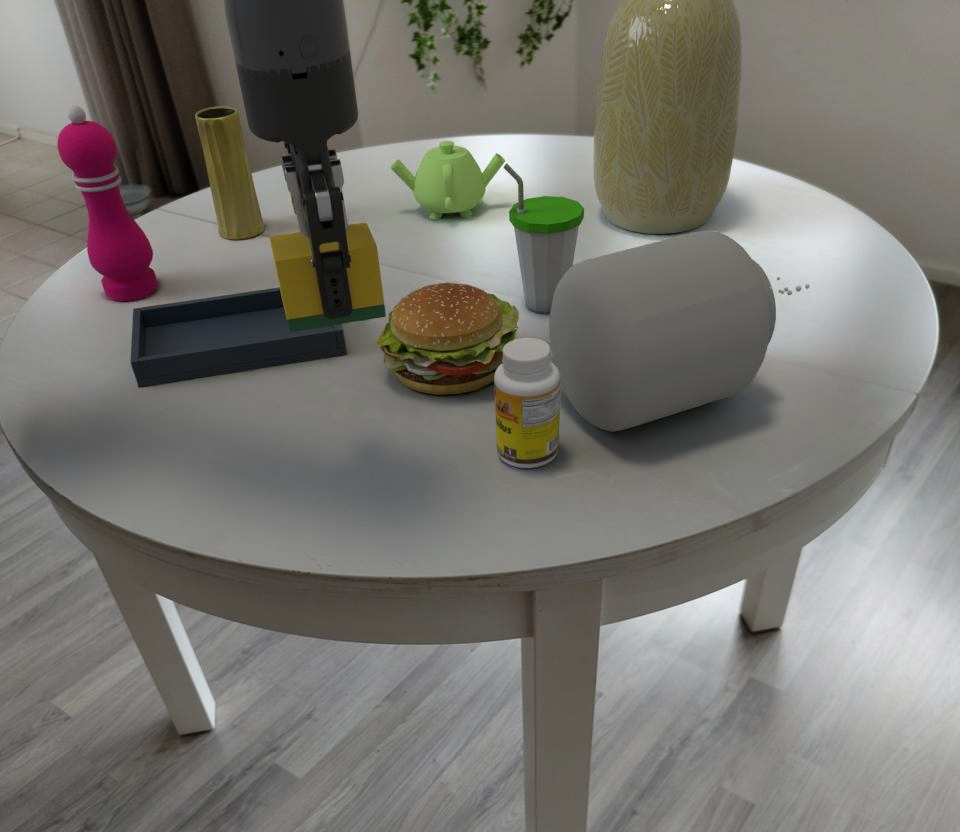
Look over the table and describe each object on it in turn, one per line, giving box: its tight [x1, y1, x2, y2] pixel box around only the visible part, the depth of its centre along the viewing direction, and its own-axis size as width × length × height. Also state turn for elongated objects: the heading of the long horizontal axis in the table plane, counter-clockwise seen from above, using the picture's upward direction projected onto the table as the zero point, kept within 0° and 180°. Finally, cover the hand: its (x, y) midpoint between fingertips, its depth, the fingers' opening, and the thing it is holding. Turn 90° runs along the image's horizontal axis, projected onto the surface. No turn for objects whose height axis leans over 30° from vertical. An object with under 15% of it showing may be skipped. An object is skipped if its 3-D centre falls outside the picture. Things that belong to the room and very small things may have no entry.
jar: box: [548, 230, 811, 432], centre depth 85 cm, size 19×15×25 cm
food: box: [375, 282, 520, 396], centre depth 93 cm, size 14×14×8 cm
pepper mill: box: [56, 105, 159, 302], centre depth 106 cm, size 7×7×20 cm
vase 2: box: [593, 0, 743, 235], centre depth 112 cm, size 17×17×27 cm
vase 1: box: [194, 105, 266, 240], centre depth 119 cm, size 6×6×14 cm
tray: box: [130, 286, 348, 388], centre depth 101 cm, size 22×13×3 cm, turn 104°
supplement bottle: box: [493, 337, 561, 469], centre depth 81 cm, size 6×6×10 cm
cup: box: [503, 162, 585, 315], centre depth 100 cm, size 8×8×15 cm
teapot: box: [390, 140, 506, 220], centre depth 123 cm, size 11×12×8 cm
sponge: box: [269, 222, 387, 332], centre depth 72 cm, size 8×5×6 cm, turn 104°
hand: (333, 299), depth 73 cm, fingers closed on sponge, 4 cm apart
